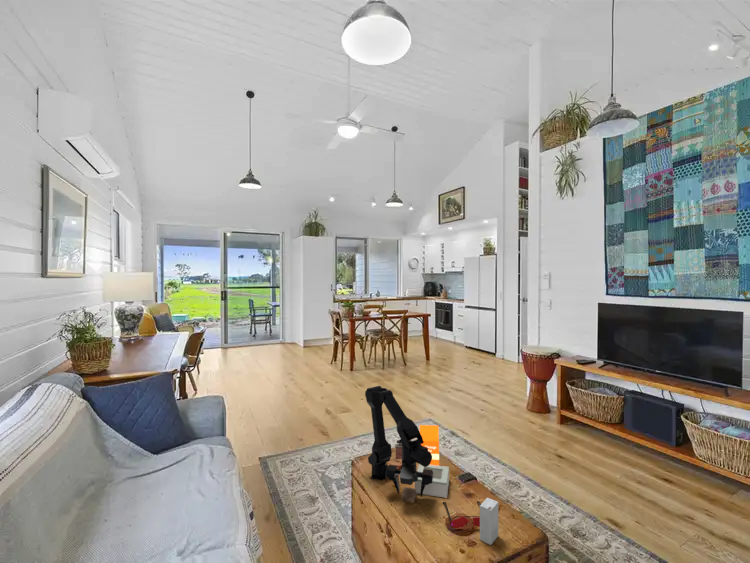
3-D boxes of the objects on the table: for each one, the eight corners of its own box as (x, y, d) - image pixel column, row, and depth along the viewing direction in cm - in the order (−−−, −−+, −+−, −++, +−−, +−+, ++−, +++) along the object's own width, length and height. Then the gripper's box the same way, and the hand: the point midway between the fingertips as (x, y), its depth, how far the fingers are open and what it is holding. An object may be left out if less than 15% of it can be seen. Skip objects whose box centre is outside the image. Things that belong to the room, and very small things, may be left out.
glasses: (451, 532, 129) (450, 518, 129) (442, 503, 145) (442, 490, 145) (491, 531, 129) (490, 517, 129) (477, 502, 145) (477, 490, 145)
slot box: (414, 493, 152) (414, 478, 151) (419, 476, 164) (419, 463, 164) (447, 497, 148) (446, 483, 148) (449, 480, 161) (449, 466, 161)
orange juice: (420, 463, 176) (419, 421, 176) (438, 464, 175) (438, 422, 174) (419, 471, 168) (419, 428, 168) (439, 473, 167) (439, 429, 167)
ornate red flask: (412, 459, 180) (411, 438, 180) (412, 462, 177) (411, 441, 176) (395, 458, 181) (395, 438, 181) (395, 462, 177) (394, 441, 177)
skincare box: (486, 530, 129) (486, 496, 129) (499, 536, 126) (499, 501, 126) (479, 540, 124) (478, 504, 124) (491, 546, 121) (491, 510, 121)
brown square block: (401, 501, 147) (401, 494, 147) (404, 494, 152) (404, 487, 151) (414, 503, 145) (413, 496, 145) (416, 496, 150) (416, 488, 150)
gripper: (381, 463, 143) (382, 503, 143) (430, 469, 138) (430, 510, 138) (388, 450, 154) (388, 487, 154) (433, 455, 149) (433, 493, 149)
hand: (409, 494), depth 149 cm, fingers open, 9 cm apart
